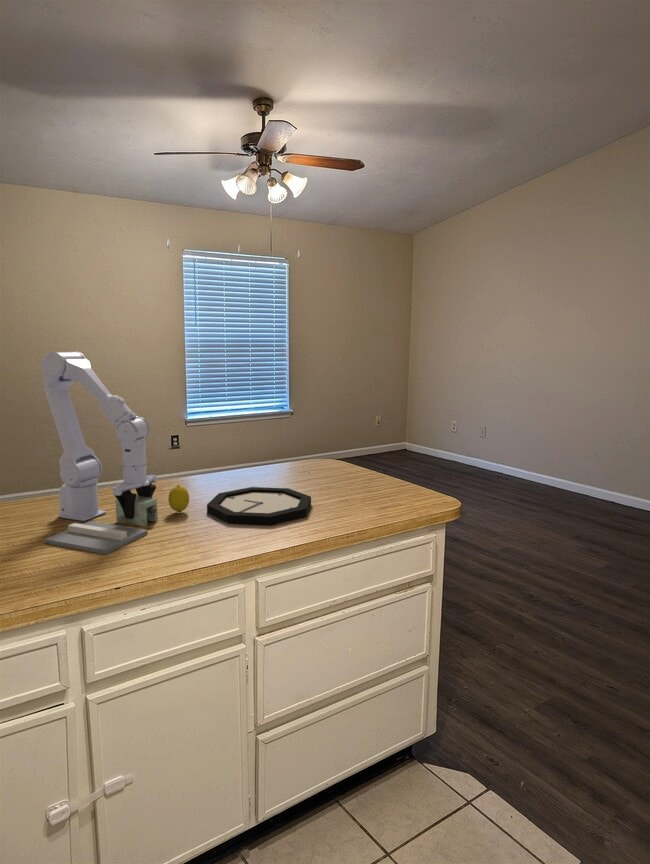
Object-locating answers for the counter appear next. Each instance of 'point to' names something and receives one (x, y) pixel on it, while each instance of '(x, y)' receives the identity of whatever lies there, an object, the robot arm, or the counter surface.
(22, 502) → the counter surface
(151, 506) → the cabinet block
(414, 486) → the counter surface
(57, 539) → the cleat board
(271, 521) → the wall clock
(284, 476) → the counter surface
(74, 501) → the robot arm
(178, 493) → the lemon
